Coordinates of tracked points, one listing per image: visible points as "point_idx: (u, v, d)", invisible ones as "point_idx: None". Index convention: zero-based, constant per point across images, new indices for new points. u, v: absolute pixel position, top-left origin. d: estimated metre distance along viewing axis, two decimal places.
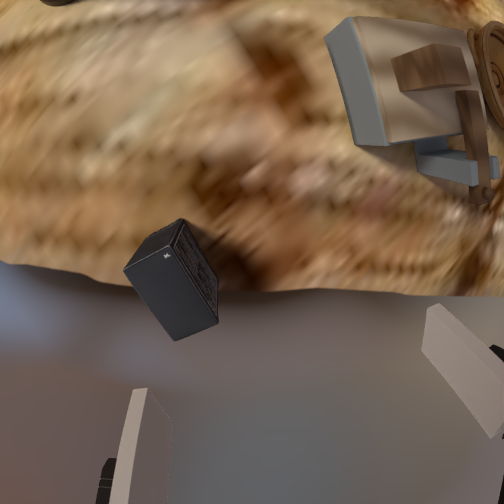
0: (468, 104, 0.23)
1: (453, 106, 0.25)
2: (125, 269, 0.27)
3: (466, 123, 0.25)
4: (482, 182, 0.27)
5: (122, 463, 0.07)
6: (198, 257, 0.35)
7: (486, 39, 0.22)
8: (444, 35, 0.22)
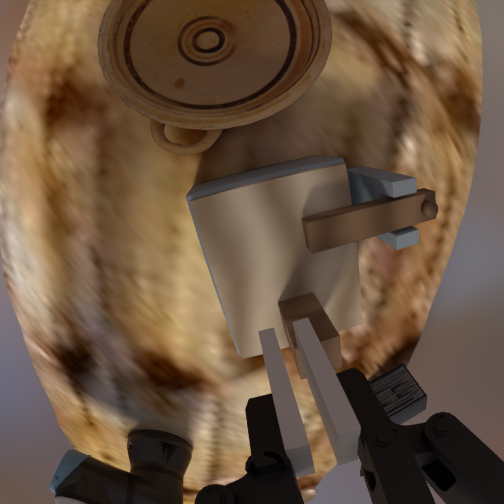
0: (330, 247, 0.26)
1: None
2: None
3: None
4: (416, 215, 0.26)
5: (279, 392, 0.09)
6: (387, 386, 0.48)
7: (166, 117, 0.24)
8: (220, 248, 0.28)
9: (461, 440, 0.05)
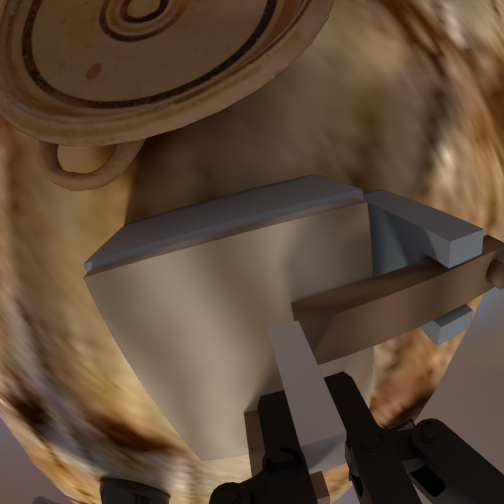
0: (341, 355, 0.14)
1: None
2: None
3: None
4: (478, 284, 0.14)
5: (292, 388, 0.09)
6: None
7: (46, 130, 0.11)
8: (143, 349, 0.15)
9: (450, 446, 0.05)
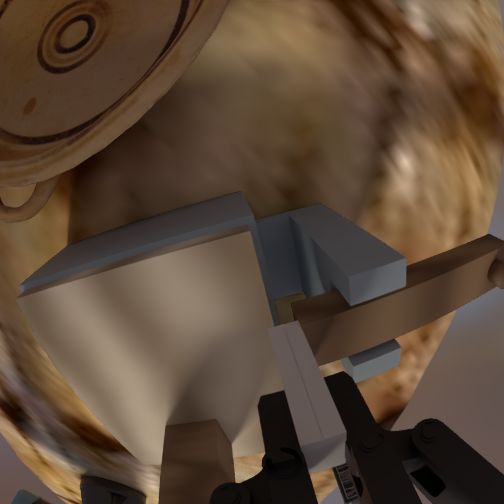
0: (342, 356, 0.14)
1: (223, 368, 0.16)
2: None
3: None
4: (480, 284, 0.14)
5: (292, 388, 0.09)
6: None
7: None
8: (67, 361, 0.15)
9: (450, 446, 0.05)
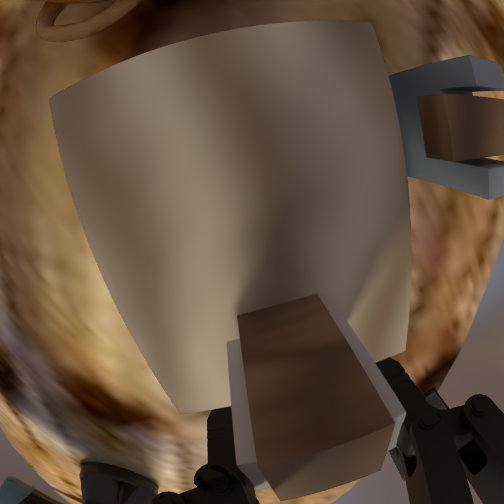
0: (475, 156, 0.10)
1: (344, 185, 0.12)
2: (404, 479, 0.27)
3: None
4: None
5: (239, 405, 0.09)
6: None
7: None
8: (100, 190, 0.11)
9: (495, 422, 0.05)
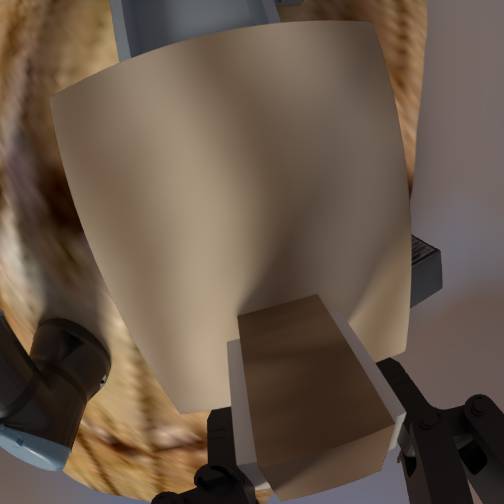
0: None
1: (344, 185, 0.12)
2: None
3: None
4: None
5: (239, 405, 0.09)
6: None
7: None
8: (100, 191, 0.11)
9: (495, 422, 0.05)
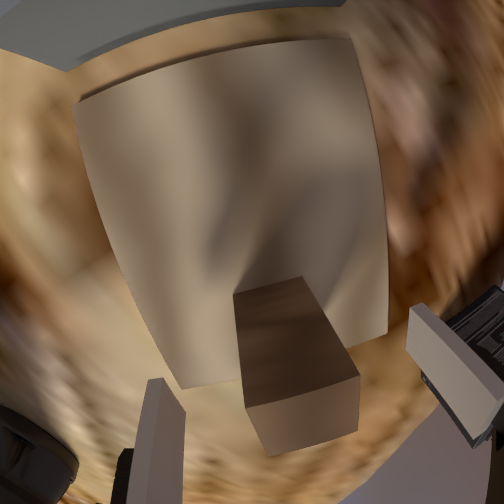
0: None
1: (323, 182, 0.14)
2: (474, 447, 0.13)
3: None
4: None
5: (140, 452, 0.08)
6: (481, 331, 0.17)
7: None
8: (117, 186, 0.13)
9: None
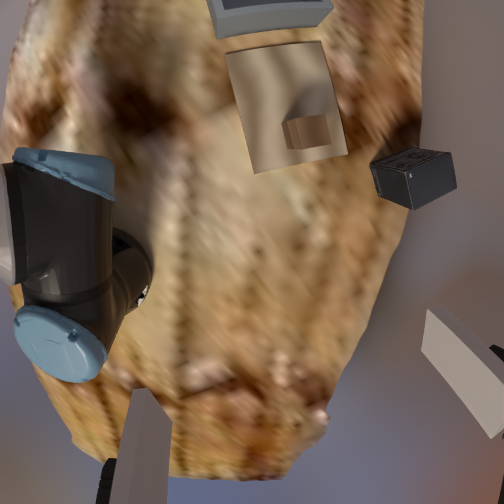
0: None
1: (311, 87, 0.38)
2: (413, 208, 0.36)
3: None
4: None
5: (122, 463, 0.07)
6: (400, 157, 0.40)
7: None
8: (242, 82, 0.36)
9: None
